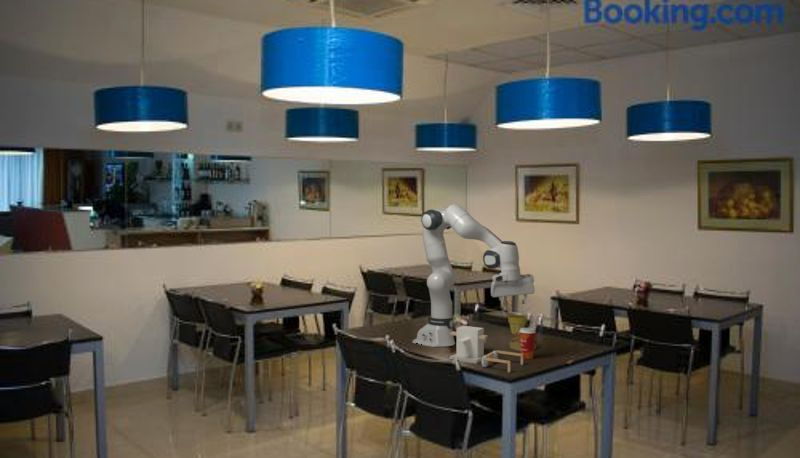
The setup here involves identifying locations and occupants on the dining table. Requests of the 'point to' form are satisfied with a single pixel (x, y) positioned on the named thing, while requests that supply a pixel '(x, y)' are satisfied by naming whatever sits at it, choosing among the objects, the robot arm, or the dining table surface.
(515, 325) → the plant pot
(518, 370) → the dining table surface
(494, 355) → the glasses
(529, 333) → the paper cup
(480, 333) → the white upright box
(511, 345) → the pastry
